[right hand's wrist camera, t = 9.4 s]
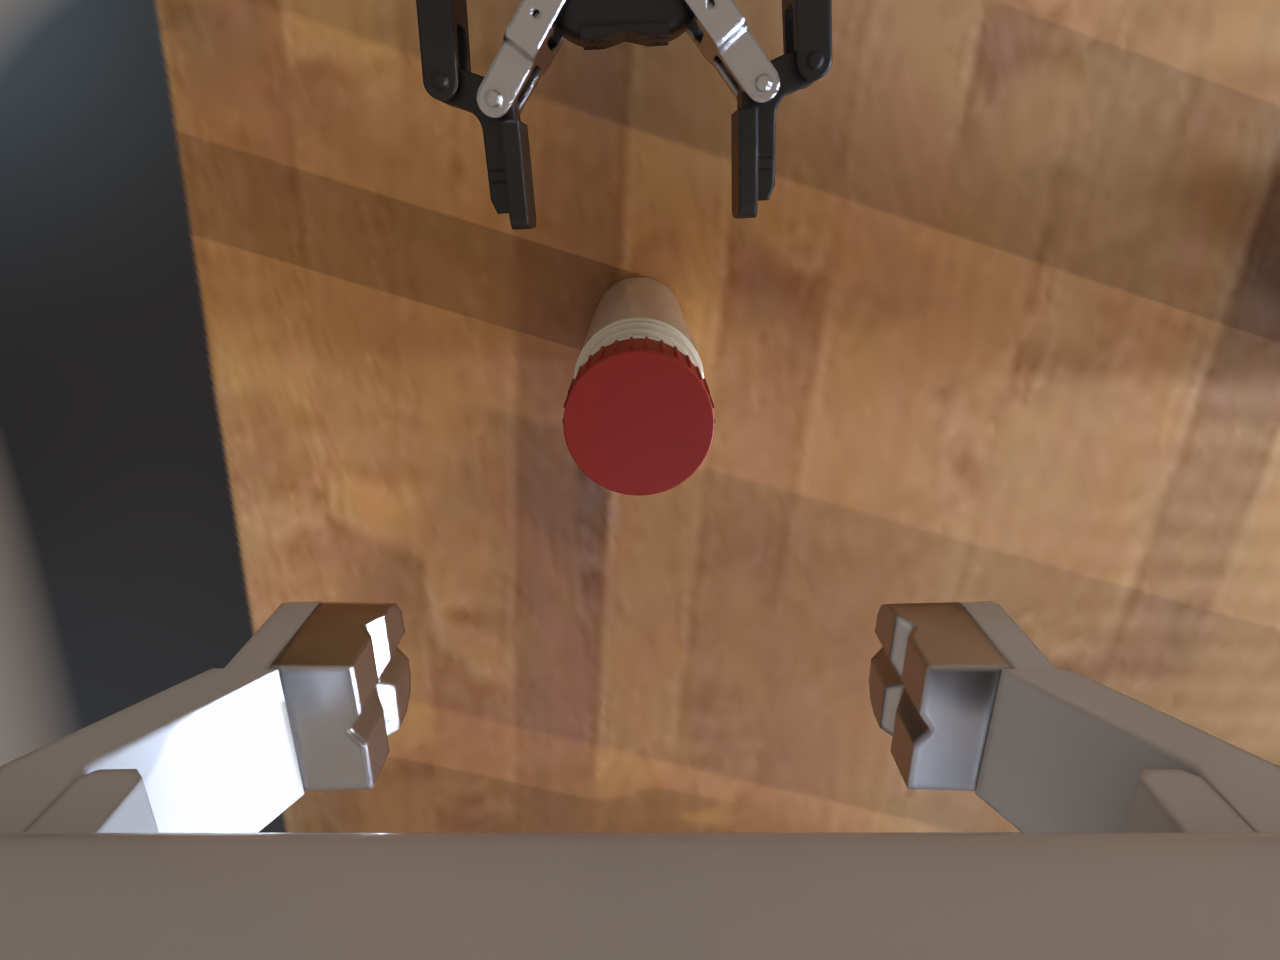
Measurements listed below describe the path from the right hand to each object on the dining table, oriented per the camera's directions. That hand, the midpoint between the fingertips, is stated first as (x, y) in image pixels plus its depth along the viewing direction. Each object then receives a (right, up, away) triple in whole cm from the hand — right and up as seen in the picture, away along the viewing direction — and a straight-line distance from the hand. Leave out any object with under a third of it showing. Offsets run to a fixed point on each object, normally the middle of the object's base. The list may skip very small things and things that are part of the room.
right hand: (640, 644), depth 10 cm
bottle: (0, +10, +26) cm, 28 cm away
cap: (0, +4, +10) cm, 11 cm away
